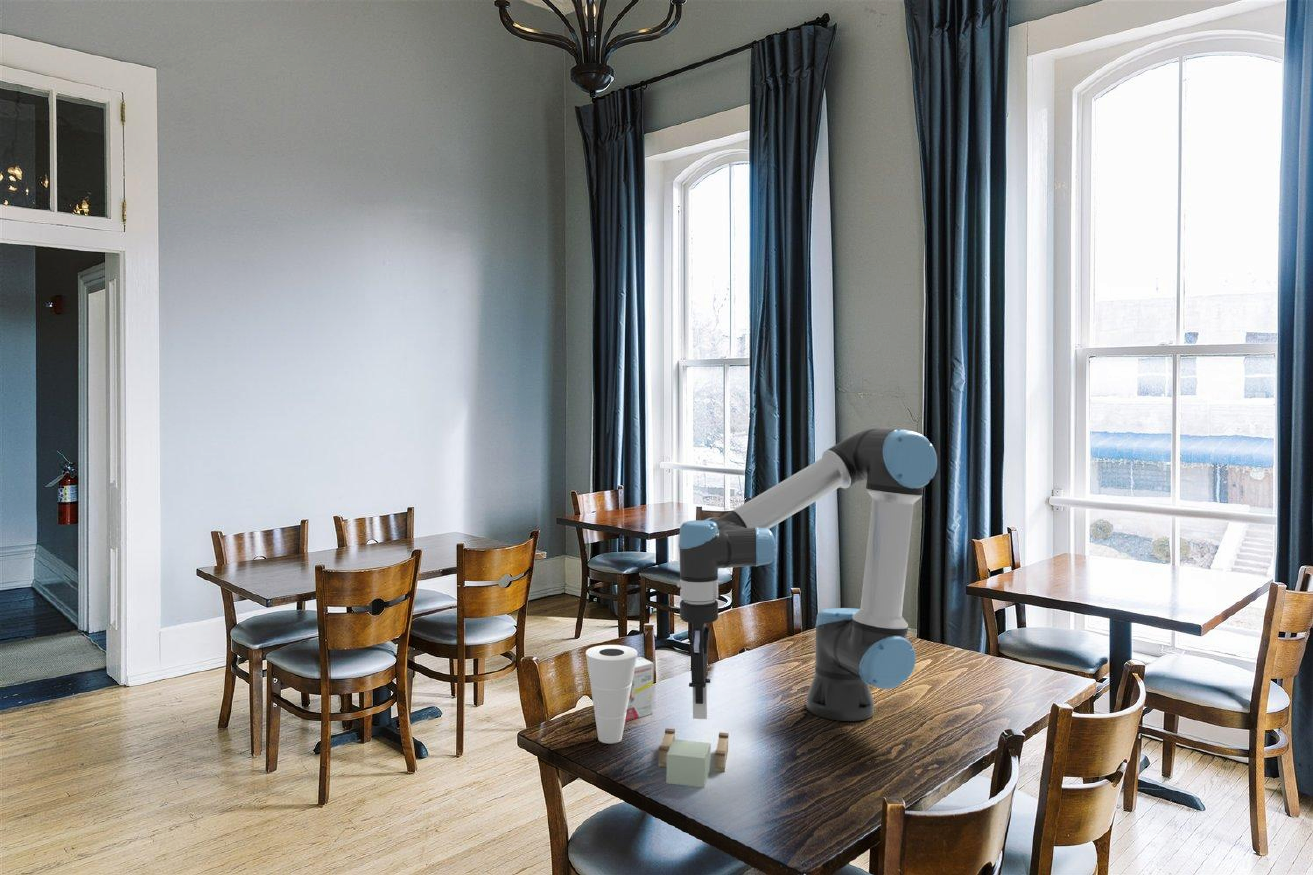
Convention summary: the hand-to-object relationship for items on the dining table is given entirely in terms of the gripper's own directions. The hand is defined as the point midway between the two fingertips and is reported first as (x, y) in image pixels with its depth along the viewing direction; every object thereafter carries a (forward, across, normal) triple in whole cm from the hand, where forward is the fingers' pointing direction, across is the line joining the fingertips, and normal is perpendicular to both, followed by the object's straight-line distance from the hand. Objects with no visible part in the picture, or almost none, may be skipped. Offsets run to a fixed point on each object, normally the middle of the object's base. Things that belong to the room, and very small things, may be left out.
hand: (700, 717), depth 167 cm
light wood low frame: (+7, +3, -1) cm, 8 cm away
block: (+7, +11, -1) cm, 13 cm away
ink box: (+7, -17, -17) cm, 25 cm away
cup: (+7, -3, -19) cm, 20 cm away
